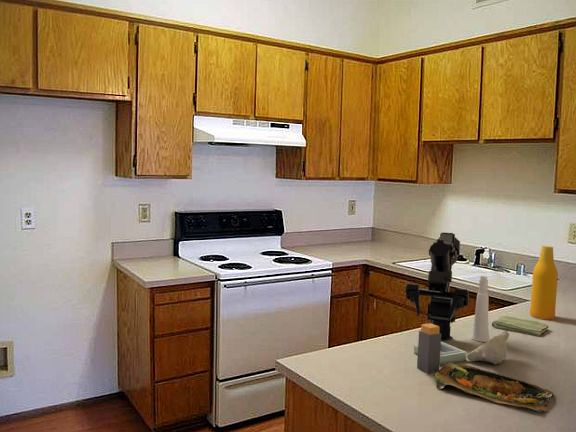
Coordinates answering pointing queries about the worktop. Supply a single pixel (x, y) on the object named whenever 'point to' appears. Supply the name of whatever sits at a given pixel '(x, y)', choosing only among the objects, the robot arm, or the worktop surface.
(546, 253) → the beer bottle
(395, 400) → the worktop surface
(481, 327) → the cosmetic bottle
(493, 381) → the prepared meal
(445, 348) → the box
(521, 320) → the washcloth
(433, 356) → the plug
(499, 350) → the cheese
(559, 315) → the worktop surface
